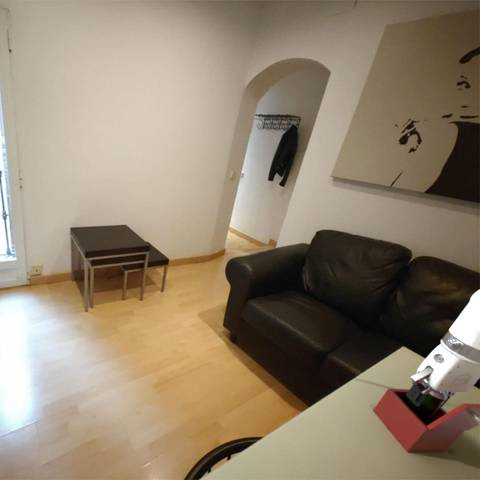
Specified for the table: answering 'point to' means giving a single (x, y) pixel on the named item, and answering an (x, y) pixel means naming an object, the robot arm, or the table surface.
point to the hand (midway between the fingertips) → (423, 400)
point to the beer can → (427, 404)
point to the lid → (458, 418)
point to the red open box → (412, 424)
